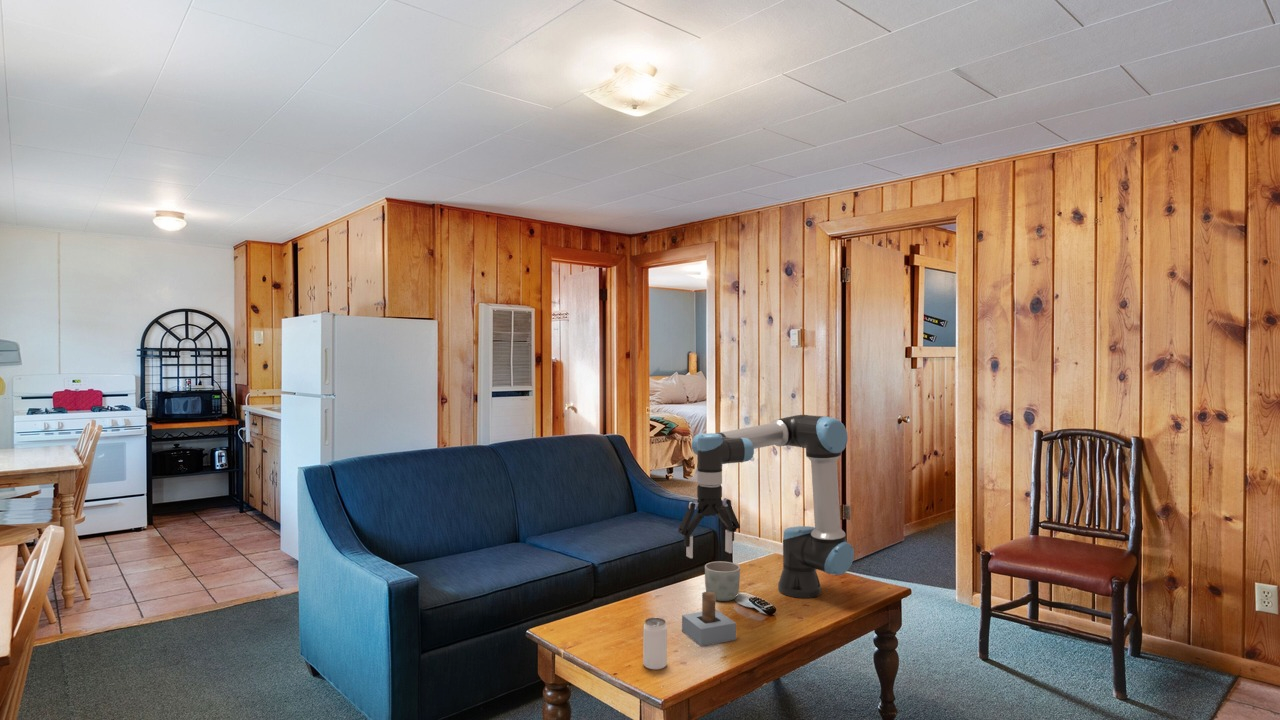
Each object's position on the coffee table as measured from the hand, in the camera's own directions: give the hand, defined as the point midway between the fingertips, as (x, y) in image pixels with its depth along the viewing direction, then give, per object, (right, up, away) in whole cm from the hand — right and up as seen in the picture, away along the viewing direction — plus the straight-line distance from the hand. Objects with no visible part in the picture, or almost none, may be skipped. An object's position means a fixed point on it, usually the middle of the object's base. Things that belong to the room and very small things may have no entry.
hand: (709, 554), depth 208 cm
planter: (+8, -25, +33) cm, 42 cm away
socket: (0, -25, 0) cm, 25 cm away
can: (-17, -25, -20) cm, 36 cm away
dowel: (0, -24, 0) cm, 24 cm away
